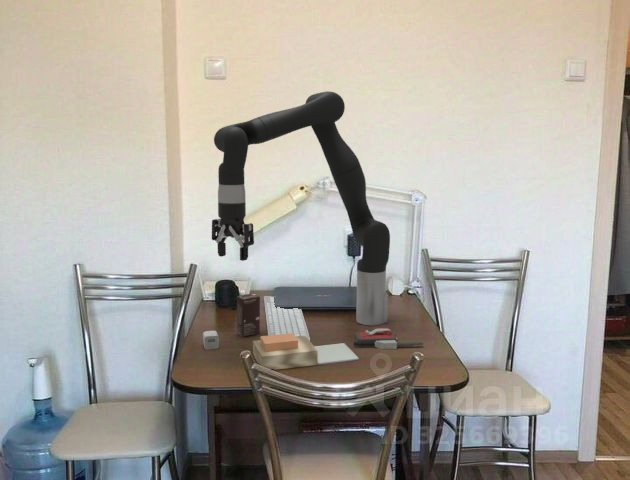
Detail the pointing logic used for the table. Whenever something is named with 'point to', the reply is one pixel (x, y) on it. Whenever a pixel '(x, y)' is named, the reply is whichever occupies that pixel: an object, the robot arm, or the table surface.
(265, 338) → the tile
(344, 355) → the mat
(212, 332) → the usb wall charger
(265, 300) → the keyboard
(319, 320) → the table surface
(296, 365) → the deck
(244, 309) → the box
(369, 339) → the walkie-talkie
